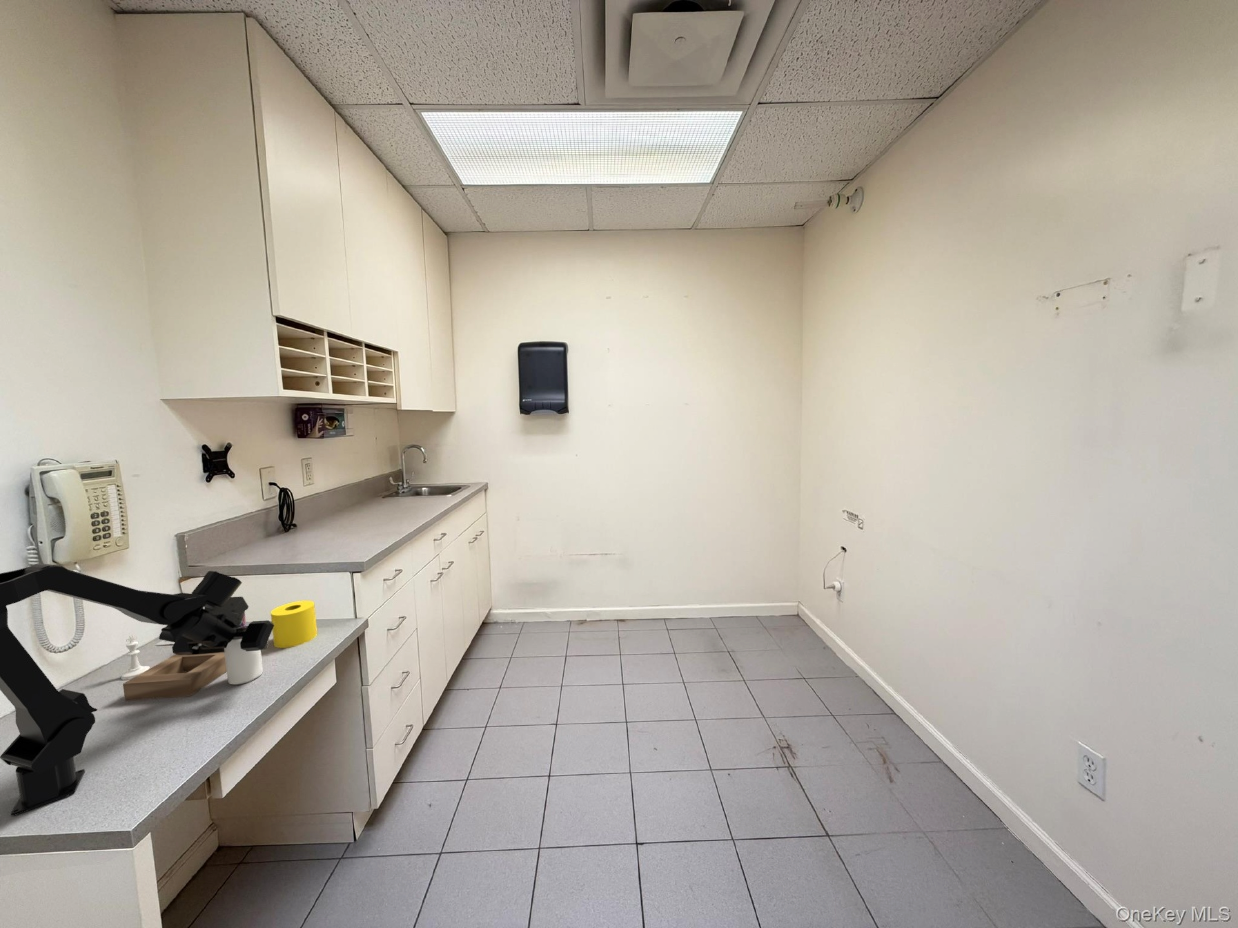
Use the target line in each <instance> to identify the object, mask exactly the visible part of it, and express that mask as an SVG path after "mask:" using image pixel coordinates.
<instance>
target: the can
mask: <svg viewBox="0 0 1238 928" xmlns="http://www.w3.org/2000/svg"><path fill="white" fill-rule="evenodd" d="M247 627H248V625H246V626H243V627H239V628H247ZM241 640H242V639H235V640H232V641H231V642H229V643H228V645H227V647H226V648H224V651H225V660H226V669H227V672H226V675H227V681H228V684H230V685H232V686H239V685H244V684H246V683H250V682H252V681H255V680H256V679H258V678H259V677H260V676H261V675H262V674H263V671H264V669H263V660H262V659H263V658H262V650H258V651H246V650H243V649H241V646H240V642H241Z"/></svg>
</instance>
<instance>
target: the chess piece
mask: <svg viewBox="0 0 1238 928" xmlns="http://www.w3.org/2000/svg"><path fill="white" fill-rule="evenodd" d="M137 639H138V638H137V636H135V637H133V635H130V636H129V638H128V639H126V641H125V642H126V643H127V642H128V643H127V644H125V646H126V648H127V649H128V650H129V652H128V653H126V656H127V657H128V656H130V663H129V664H130V665H129V666H130V668H128V670H127V671H125V672H123V673H122V674H121V680H124V681H125V680H127V681H129V680H131V679H132V678H134V677H136V676H138V675H140V674H141V673H143V672H145V671H147V670H148V669H150V666H148V665H144V666H143V665H141V663H140V662H139V658H138V656H137V655H138V654H139V653H140V652H141V651H140V650H139V649H137V648H138V644H139V642H138V641H134V640H137Z"/></svg>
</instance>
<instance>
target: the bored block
mask: <svg viewBox="0 0 1238 928" xmlns="http://www.w3.org/2000/svg"><path fill="white" fill-rule="evenodd" d="M225 673H227V669H226V660H225V652H220V653H209V654H198V655H177V654H173V655H172V656H170V657H167V659H164V660H163V661H160V663H157V664H155V665H154V666H152V667H151V668H150V669H148V670H147V671H145V672H143V673H141V674H140V675H138V676H136V677H134V678H132V679H128V680H127V681H126V682H124V683H123V684H122V687H123V694H124V701H126V702H127V701H139V700H140V701H141V700H153V699H154V700H155V699H166V698H167V699H168V698H178V697H179V698H181V697H191V696H194V695H195V694H197V693H198V692H199V691H201V690H202V689H204V688H205V687H206V686H208V685H210V684H211V683H212V682H214V681H215V680H217V679H218V678H219V677H221V676H222V675H225Z"/></svg>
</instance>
